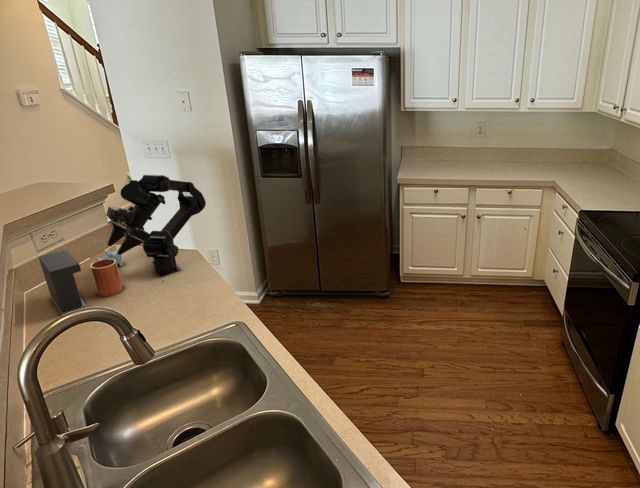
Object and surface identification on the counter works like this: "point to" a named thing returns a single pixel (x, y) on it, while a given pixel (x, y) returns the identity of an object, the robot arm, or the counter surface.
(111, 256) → the figurine
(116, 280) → the cup
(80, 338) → the counter surface
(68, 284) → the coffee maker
